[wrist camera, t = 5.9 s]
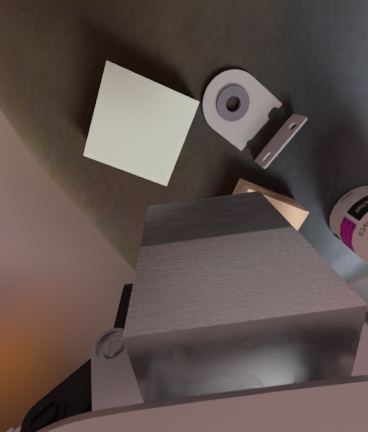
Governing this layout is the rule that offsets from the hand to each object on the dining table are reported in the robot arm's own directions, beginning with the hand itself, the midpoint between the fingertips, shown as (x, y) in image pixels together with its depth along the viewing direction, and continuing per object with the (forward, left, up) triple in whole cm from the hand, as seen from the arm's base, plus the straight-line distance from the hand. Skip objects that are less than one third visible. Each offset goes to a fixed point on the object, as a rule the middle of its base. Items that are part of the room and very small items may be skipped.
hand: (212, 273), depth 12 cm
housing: (0, 0, -1) cm, 1 cm away
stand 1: (+6, -2, -21) cm, 22 cm away
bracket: (-4, -7, -22) cm, 23 cm away
